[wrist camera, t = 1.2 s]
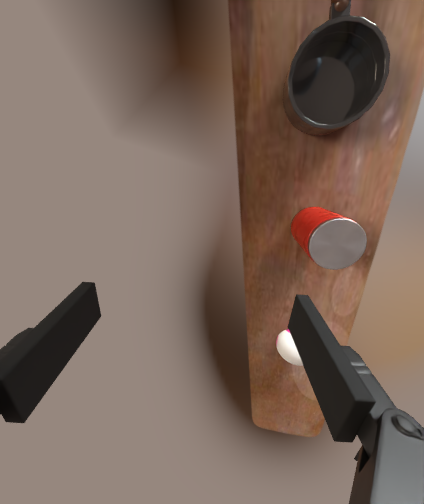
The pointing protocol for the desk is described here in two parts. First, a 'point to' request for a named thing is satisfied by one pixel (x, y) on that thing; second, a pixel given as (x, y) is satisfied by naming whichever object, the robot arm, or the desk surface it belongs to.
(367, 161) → the desk surface
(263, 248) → the desk surface
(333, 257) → the tomato can
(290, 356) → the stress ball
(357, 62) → the skillet
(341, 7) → the skillet handle
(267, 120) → the desk surface
